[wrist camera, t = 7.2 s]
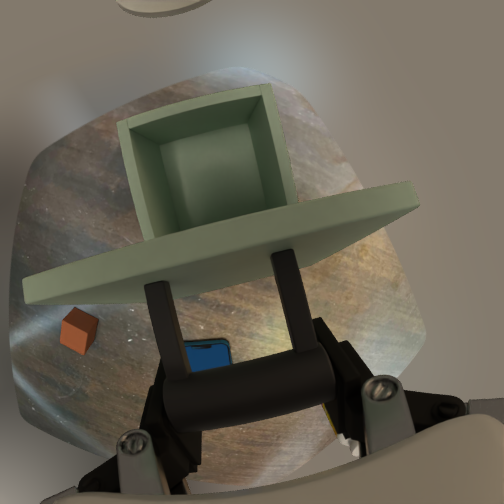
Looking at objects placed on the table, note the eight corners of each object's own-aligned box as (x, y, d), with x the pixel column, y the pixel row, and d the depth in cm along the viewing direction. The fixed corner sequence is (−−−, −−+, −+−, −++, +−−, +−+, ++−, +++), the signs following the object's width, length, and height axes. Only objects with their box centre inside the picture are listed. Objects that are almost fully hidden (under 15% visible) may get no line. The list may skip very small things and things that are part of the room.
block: (74, 307, 33) (62, 319, 29) (98, 319, 33) (87, 333, 30) (71, 328, 33) (59, 342, 30) (94, 340, 34) (84, 355, 30)
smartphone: (194, 418, 38) (173, 345, 34) (194, 414, 39) (174, 341, 35) (239, 415, 39) (229, 341, 35) (239, 410, 40) (228, 337, 36)
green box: (152, 141, 29) (116, 122, 17) (252, 116, 29) (270, 82, 18) (181, 254, 33) (161, 294, 21) (278, 230, 33) (308, 258, 22)
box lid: (21, 278, 6) (72, 458, 5) (412, 179, 7) (455, 373, 6) (159, 292, 21) (178, 364, 20) (309, 255, 21) (327, 328, 20)
